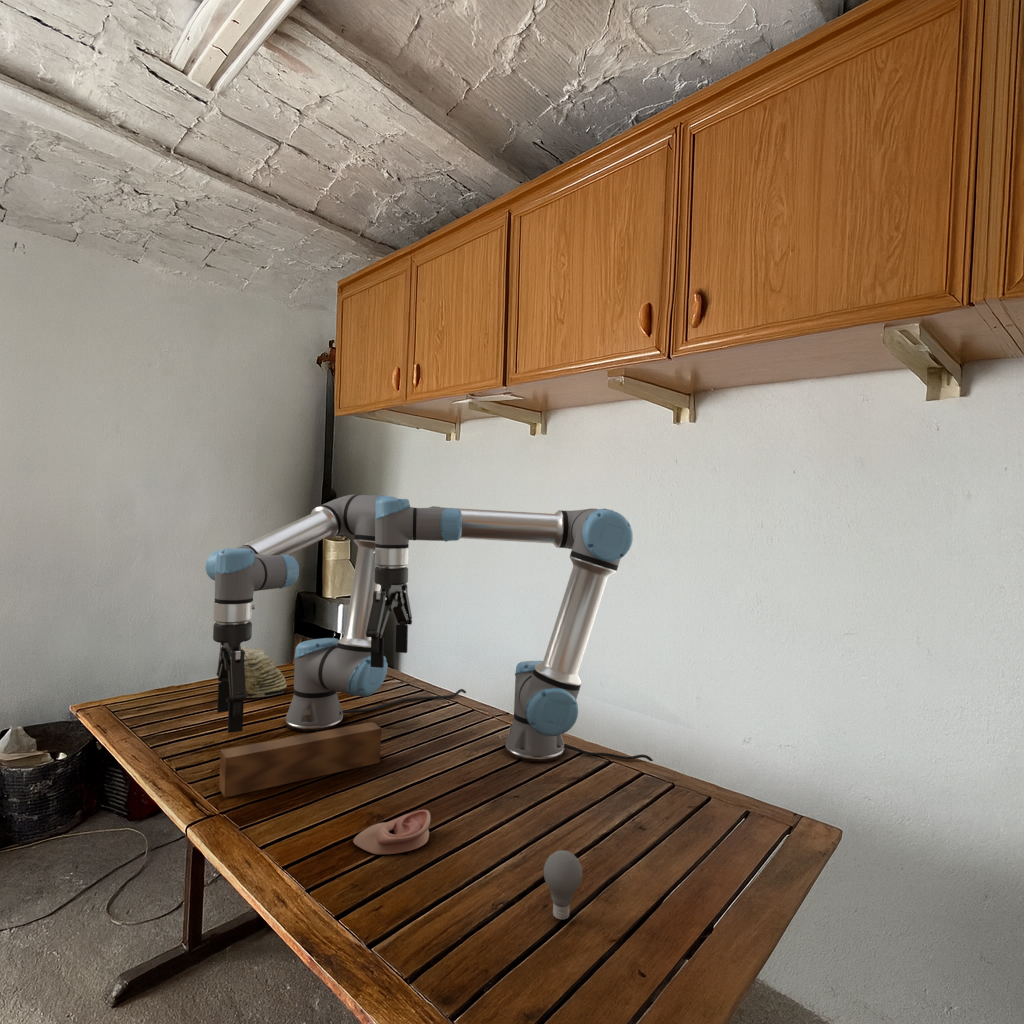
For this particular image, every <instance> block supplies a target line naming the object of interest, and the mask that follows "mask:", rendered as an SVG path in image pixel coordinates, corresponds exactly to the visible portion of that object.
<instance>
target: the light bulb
mask: <svg viewBox="0 0 1024 1024" xmlns="http://www.w3.org/2000/svg"><path fill="white" fill-rule="evenodd" d="M543 877H544V878H543V879H544V881H545V884H546V885H547V887H548V889H549V892H550V896H551V898H550V899H551V900H552V915H553V917H554V918H555V919H558V920H566V919H569V917H570V910H571V909H570V908H571V904H572V901H573V898H574V894H575V893H576V891H577V890H578V889H579V887H580V885H581V883H582V880H583V866H582V864H581V862H580V860H579V859H578V857H577V856H575V854H573V853H572V852H570V851H568V850H564V849H561V850H556V851H555V852H553V853H552V854H550V855H549V856H548V857H547V859H546V861H545V862H544V865H543Z"/></svg>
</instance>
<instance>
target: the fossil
mask: <svg viewBox="0 0 1024 1024" xmlns="http://www.w3.org/2000/svg"><path fill="white" fill-rule="evenodd" d="M241 649H243V650H244V652H245V654H244V666H245V685H246V696H247V697H246V699H250V698H264V697H271V696H275V695H281V694H284V693H285V691H286V689H287V687H288V686H287V680H286V678H285V676H284V674H283V673H282V672H281V669H279V668H278V667H277V665H276V663H275V662H274V660H273V659H272V658H271V657H270V656H269V655H268V654H267V653H266V652H265V650H264V649H263V648H260V647H258V648H251V647H247V646H246V647H245V646H241ZM228 681H229V680H228ZM236 694H240V693H236Z"/></svg>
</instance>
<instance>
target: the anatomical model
mask: <svg viewBox="0 0 1024 1024" xmlns="http://www.w3.org/2000/svg"><path fill="white" fill-rule="evenodd" d="M430 824H431V813H430V811H429V810H428V809H420V810H419V809H418V810H416V811H412V812H409V813H405V814H403V815H401V816H398V817H396V818H394V819H391V820H389V821H385V822H378V823H375V824H373V825H370V826H369V827H367V828H365V829H364V830H362V831H360V832H359V833H358V834H357V835H355V837H354V838H353V839H352V842H353V844H354V845H355V846H356V847H358V848H360V849H362V850H363V851H365V852H368V853H369V854H374V855H378V856H379V855H393V854H400V853H402V854H403V853H406V852H410V851H413V850H417V849H419V848H421V847H422V846H424V845H426V844H427V842H428V841H429V838H430V830H429V827H430Z"/></svg>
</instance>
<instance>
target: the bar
mask: <svg viewBox="0 0 1024 1024" xmlns="http://www.w3.org/2000/svg"><path fill="white" fill-rule="evenodd" d="M381 744H382V727H380V726H379V725H378V724H376V723H375V722H374V721H370V722H364V723H360V724H354V725H349V726H348V725H347V726H344V727H343V726H342V727H338V728H337V727H336V728H333V729H329V730H325V731H318V732H309V733H305V734H301V735H295V736H289V737H284V738H279V739H273V740H268V741H261V742H256V743H250V744H244V745H240V746H239V745H238V746H234V747H230V748H223V749H220V751H219V752H220V756H219V782H218V783H219V784H218V788H219V791H220V793H221V795H222V797H223V799H226V798H229V797H235V796H239V795H242V794H248V793H252V792H256V791H261V790H266V789H269V788H270V789H271V788H274V787H278V786H282V785H289V784H291V783H295V782H302V781H306V780H309V779H313V778H314V779H315V778H318V777H322V776H328V775H331V774H335V773H336V774H337V773H341V772H345V771H349V770H353V769H358V768H363V767H366V766H372V765H375V764H380V763H381V747H382V746H381Z"/></svg>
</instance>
